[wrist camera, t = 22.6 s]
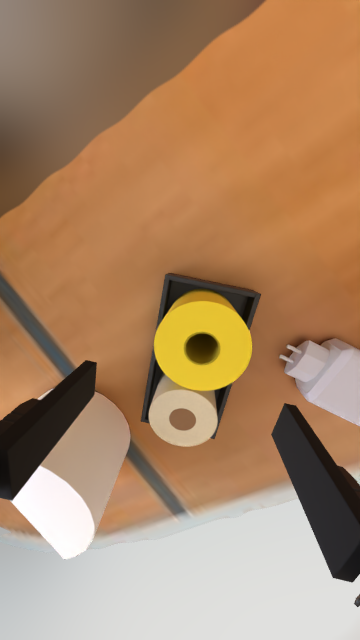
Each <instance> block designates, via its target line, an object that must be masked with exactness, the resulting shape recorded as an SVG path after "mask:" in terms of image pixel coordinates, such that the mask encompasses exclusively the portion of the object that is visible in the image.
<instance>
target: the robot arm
mask: <svg viewBox="0 0 360 640" xmlns="http://www.w3.org/2000/svg"><path fill="white" fill-rule="evenodd" d="M96 365H97V362H92V361H87V360H86V361H85V362H83V363H82V364H81V365H80V366H79V367H78V368H77V369H75V370H74V371H73V372H72V373H71V374H70V375H69V376H67V377H66V378H65V379H64V380H63V381H62V382H61V383H59V384H58V385H57V386H56V387H55V388H54V389H53V390H51V391H50V392H49V393H48V394H47V395H46V396H45V397H43V398H42V399H41V400H38V399H34V398H32V399H30V400H28V401H26V402H24V403H22V404H20V405H19V406H18V407H17V408H15V409H14V410H13V411H12V412H11V413H9V414H8V415H7V416H5V417H4V418H3V420H0V498H3V499H7V500H11V501H13V499H14V498H15V497H16V495H17V494H18V493H19V492H20V490H21V489H22V488H23V486H24V485H25V484H26V483H27V481H28V480H29V479H30V477H31V476H32V475H33V474H34V472H35V471H36V470H37V468H38V467H39V466H40V465H41V463H42V462H43V461H44V459H45V458H46V457H47V456H48V454H49V453H50V452H51V450H52V449H53V448H54V447H55V445H56V444H57V443H58V441H59V440H60V439H61V438H62V436H63V435H64V434H65V432H66V431H67V430H68V429H69V427H70V426H71V425H72V423H73V422H74V421H75V420H76V418H77V417H78V416H79V414H80V413H81V412H82V411H83V409H84V408H85V407H86V405H87V404H88V403H89V402H90V400H91V399H92V398H93V396H94V393H95V379H96ZM271 435H272V437H273V439H274V442H275V444H276V446H277V449H278V451H279V453H280V456H281V458H282V460H283V463H284V465H285V467H286V470H287V472H288V474H289V477H290V479H291V481H292V484H293V486H294V488H295V491H296V493H297V495H298V498H299V500H300V502H301V504H302V507H303V509H304V511H305V514H306V516H307V518H308V521H309V523H310V525H311V528H312V530H313V532H314V535H315V537H316V539H317V542H318V544H319V546H320V549H321V551H322V553H323V555H324V558H325V560H326V563H327V565H328V567H329V570H330V572H331V574H332V577H333V578H336V579H340V580H344V581H349V582H353V581H354V580H355V579H356V578H357V577H358V575H359V574H360V485H359V484H358V483H357V481H356V480H355V479H354V478H353V477H352V476H351V475H350V474H349V473H348V472H347V471H346V470H345V469H344V468H343V467H340V466H337V465H336V463H335V462H334V460H333V459H332V457H331V456H330V454H329V453H328V452H327V450H326V449H325V447H324V446H323V444H322V443H321V441H320V440H319V438H318V437H317V436H316V434H315V433H314V431H313V430H312V428H311V427H310V425H309V424H308V423H307V421H306V420H305V418H304V417H303V415H302V414H301V412H300V411H299V409H298V408H297V407H296V406H295V405H290V404H286V403H285V404H284V406H283V408H282V411H281V413H280V415H279V418H278V420H277V422H276V425H275V427H274V430H273V432H272V434H271ZM354 604H355V605H356V606H357V607H359V606H360V595H359V596H358V597H357V598H356V600H355V603H354Z"/></svg>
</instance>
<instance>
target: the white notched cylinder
mask: <svg viewBox="0 0 360 640" xmlns="http://www.w3.org/2000/svg"><path fill="white" fill-rule="evenodd" d="M53 389H54V388H53ZM53 389H51V390H53ZM51 390H49V391H47V392H46V393H44V394H43V395H41V396H40V397H39V398H38V400H41V399H42V398H43V397H45V396H46V395H47V394H48V393H49V392H50V391H51ZM130 438H131V435H130V429H129V425H128V423H127V421H126V419H125V417H124V415H123V413H122V412H121V411H120V410H119V408H118V407H117V406H116V405H115V404H114V403H113V402H112V401H110V400H109V399H108V398H106V397H105V396H104V395H102V394H100V393H98V392H96V391H95V393H94V396H93V398H92V399H91V400H90V402H89V403H88V404H87V405H86V407H85V408H84V409H83V411H82V412H81V413H80V414H79V416H78V417H77V418H76V420H75V421H74V422H73V423H72V425H71V426H70V427H69V429H68V430H67V431H66V432H65V434H64V435H63V436H62V438H61V439H60V440H59V441H58V443H57V444H56V445H55V447H54V448H53V449H52V450H51V452H50V453H49V454H48V456H47V457H46V458H45V459H44V461H43V462H42V463H41V465H40V466H39V467H38V468H37V470H36V471H35V472H34V474H33V475H32V476H31V477H30V479H29V480H28V481H27V483H26V484H25V485H24V486H23V488H22V489H21V490H20V492H19V493H18V494H17V495H16V497H15V498H14V499H13V501H11V500H10V501H11V502H12V503H13V504H14V505H15V506H16V507H17V509H18V510H19V511H20V512H21V513H22V514H23V515H24V516H25V517H26V518H27V519H28V521H29V522H30V523H31V524H32V525H33V526H34V527H35V528H36V529H37V530H38V531H39V532H40V534H41V535H42V536H43V537H44V538H45V539H46V540H47V541H48V542H49V543H50V544H51V546H52V547H53V548H54V549H55V550H56V551H57V552H58V553H59V554H60V555H61V556H62V557H63V559H64V560H66V559H69V558H72V557H75V556H78V555H79V554H81V553H82V552H83V551H85V550H86V549H87V548H88V547H89V545H90V543H91V542H92V540H93V538H94V536H95V533H96V530H97V528H98V525H99V523H100V520H101V518H102V515H103V513H104V510H105V507H106V505H107V502H108V500H109V497H110V495H111V492H112V489H113V487H114V484H115V482H116V479H117V477H118V474H119V471H120V469H121V466H122V464H123V461H124V459H125V456H126V453H127V451H128V448H129V444H130Z"/></svg>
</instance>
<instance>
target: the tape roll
mask: <svg viewBox="0 0 360 640" xmlns="http://www.w3.org/2000/svg"><path fill="white" fill-rule="evenodd" d="M154 352H155V356H156V359H157V362H158V364H159V366H160V368H161V369H162V371H163V372H164V373H165V374H166V375H167V376H168V377H169V378H170V379H171V380H172V381H174V382H175V383H177V384H178V385H180V386H183V387H185V388H188V389H192V390H198V391H210V390H215V389H219V388H222V387H225V386H227V385H229V384H230V383H232V382H233V381H235V380H236V379H237V378H238V377H239V376H240V375H241V374H242V373H243V372H244V370H245V369H246V367H247V365H248V363H249V361H250V358H251V354H252V339H251V335H250V332H249V330H248V327H247V326H246V324H245V322H244V321H243V320H242V318H241V317H240V316H239V314H238V313H237V312H236V310H235V309H234V308H233V306H232V305H231V304H230V302H229V301H228V300H227V299H226V298H225V297H224V296H223V295H221V294H220V293H218V292H216V291H213V290H210V289H194V290H191V291H188V292H186V293H184V294H182V295H181V296H180V297H179V298H178V299H177V300H176V301H175V302H174V303H173V305H172V306H171V308H170V309H169V311H168V313H167V314H166V316H165V317H164V319H163V320H162V322H161V323H160V325H159V327H158V329H157V331H156V334H155V339H154Z"/></svg>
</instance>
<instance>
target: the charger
mask: <svg viewBox="0 0 360 640" xmlns="http://www.w3.org/2000/svg"><path fill="white" fill-rule="evenodd" d="M286 348H288V349H290V350H292V351H294V352H293V353H292V355H291V356H290V357H289V358H288V357H286V356H284V355H282V354H280V355H279V358H281V359H283V360H285V361H287V363H286V366H285V370H284V373H286V374H288V375H290V376H292V377H294V378H295V381H296V386H297V388H298V390H299V391H300V392H301V393H302V395H303V396H304V397H305V399H306V400H307V401H308V402H310V403H312V404H314V405H317V406H319V407H321V408H323V409H325V410H327V411H329V412H331V413H333V414H335V415H337V416H339V417H341V418H343V419H346V420H348V421H350V422H352V423H354V424H356V425H358V426H360V350H359V349H357V348H355V347H353V346H351V345H349V344H347V343H345V342H343V341H341V340H339V339H337V338H334V339H331V340H328V341H325V342H323V343H322V344H321V346H320V345H318V344H316V343H314V342H312V341H310V340H308V341H305V342H303V343H302V344H301V345H299V346H298V347H297V348H295V347H293V346H291V345H289V344H287V345H286Z"/></svg>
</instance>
